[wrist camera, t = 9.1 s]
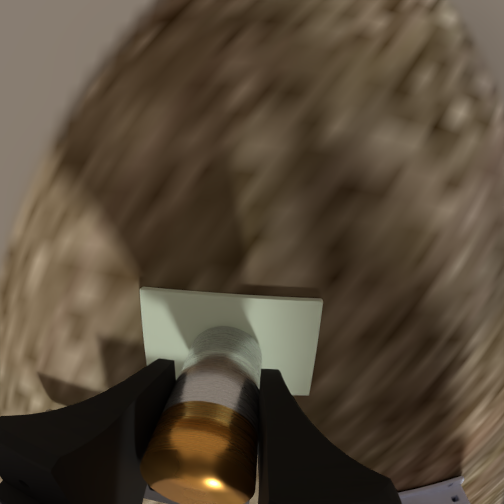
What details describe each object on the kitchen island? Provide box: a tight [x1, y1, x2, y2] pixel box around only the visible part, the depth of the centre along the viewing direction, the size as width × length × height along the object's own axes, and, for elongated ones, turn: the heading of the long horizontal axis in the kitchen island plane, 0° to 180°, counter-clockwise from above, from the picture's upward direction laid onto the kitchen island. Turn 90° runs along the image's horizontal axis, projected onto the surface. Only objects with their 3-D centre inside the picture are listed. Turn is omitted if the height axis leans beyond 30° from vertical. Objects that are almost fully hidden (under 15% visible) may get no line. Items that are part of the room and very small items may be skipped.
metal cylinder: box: [140, 326, 262, 504], centre depth 10 cm, size 3×3×7 cm
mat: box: [140, 287, 323, 395], centre depth 14 cm, size 8×5×1 cm, turn 87°
